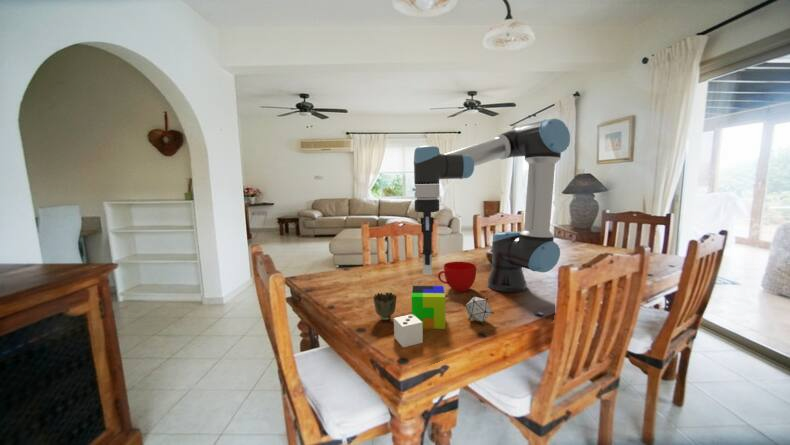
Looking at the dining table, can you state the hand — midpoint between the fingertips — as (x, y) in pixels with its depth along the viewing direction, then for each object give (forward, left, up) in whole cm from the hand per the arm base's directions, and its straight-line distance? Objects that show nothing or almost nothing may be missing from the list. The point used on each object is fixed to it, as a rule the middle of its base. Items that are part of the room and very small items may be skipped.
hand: (427, 273), depth 96 cm
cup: (+12, -7, -16) cm, 21 cm away
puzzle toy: (0, 0, -16) cm, 16 cm away
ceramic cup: (-24, -20, -16) cm, 35 cm away
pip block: (+11, +8, -16) cm, 21 cm away
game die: (-14, +7, -16) cm, 22 cm away
